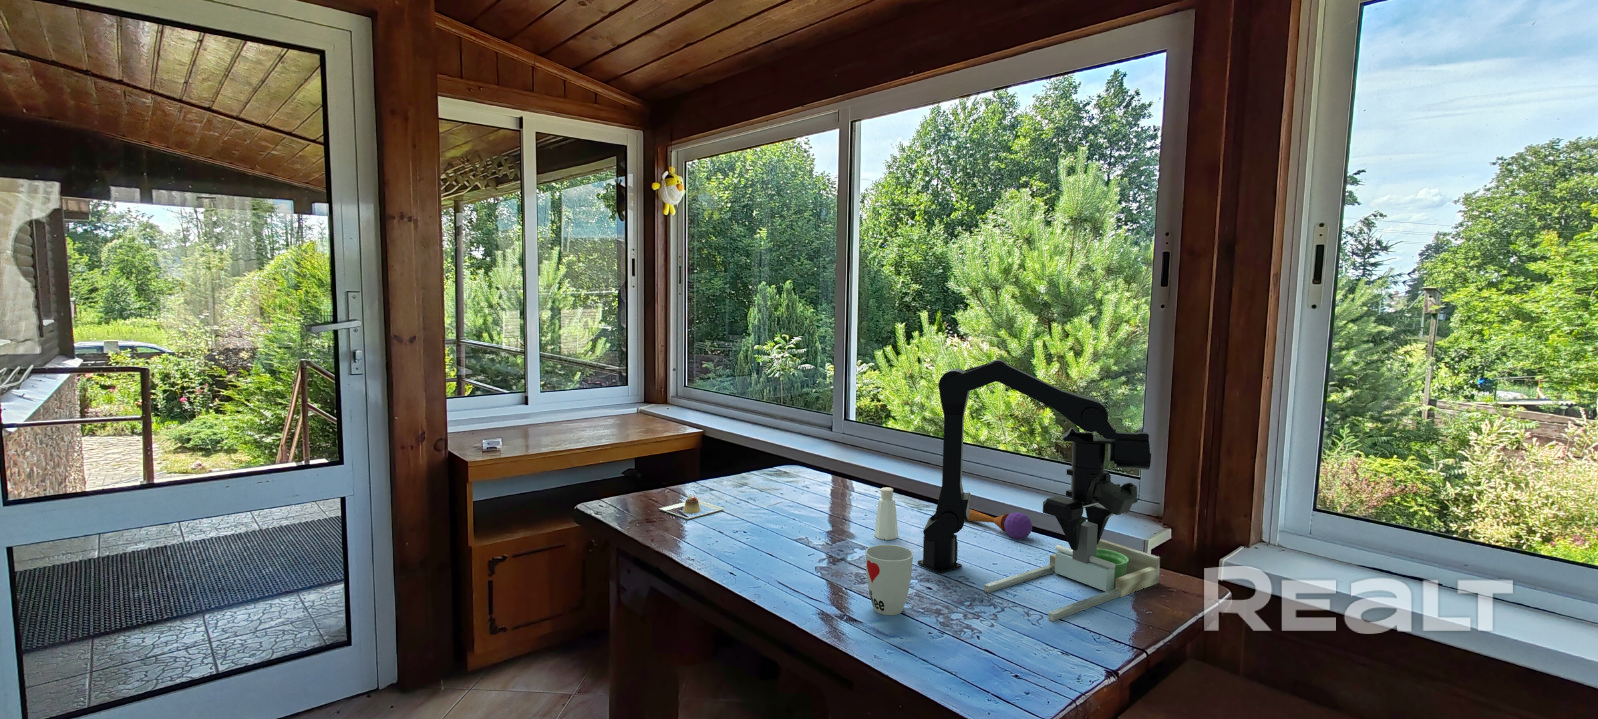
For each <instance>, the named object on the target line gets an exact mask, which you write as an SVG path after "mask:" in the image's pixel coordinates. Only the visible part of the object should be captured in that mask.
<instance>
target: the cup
mask: <svg viewBox="0 0 1598 719" xmlns="http://www.w3.org/2000/svg"><path fill="white" fill-rule="evenodd" d="M913 559H914V553H913V551H912V550H911V549H910V548H908V547H904V546H901V545H896V544H877V545H872V546H870V547H868V548H866V549H865V572H866V580H867V586H868V594H869V598H870V602H871V605H872V608H873V611H874V612H876V613H878V614H880V615H883V616H896V615H899V614H902V613H903V610H904V607H905V605H906V603H907V599H908V595H909V590H910V585H911V581H912V571H913V561H914V560H913Z"/></svg>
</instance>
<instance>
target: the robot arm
mask: <svg viewBox="0 0 1598 719" xmlns="http://www.w3.org/2000/svg"><path fill="white" fill-rule="evenodd" d="M996 382H997V383H1000V384H1003V385H1004V386H1007V388H1011V390H1012V389H1013V390H1014V391H1017V392H1019V393H1021V394H1023V395H1025V396H1027V397H1028V398H1031V399H1033V400H1036V401H1038V402H1040V403H1041V404H1044V405H1046V406H1048V407H1050V408H1052V409H1053V410H1055V411H1056V412H1058V413H1060V414H1061V415H1062V416H1063V417H1064V418H1066V419H1067V420H1068V421H1070V422H1071V423H1072V424H1074V425H1076V426H1077V427H1078V428H1080V429H1081V430H1082V431H1077V430H1076V429H1074V427H1073V426H1072V427H1070V428H1069V429H1068V431H1067V432H1065V433H1063V434H1062V436H1061V437H1062V440H1063V442H1068V443H1069V442H1072V448H1071V450H1072V452H1071V454H1072V455H1071V456H1072V457H1071V467H1070V468H1067V469H1066V476H1070V477H1071V478H1070V480H1071V481H1070V489H1067V490H1065V497H1064V496H1061V495H1057V496H1052V497H1047V498H1046V499H1045V500H1044V501H1042V513H1043V514H1046V515H1049V516H1052V517H1055V519H1056V520H1057V522H1058V524H1059V526H1060V528H1061V529H1062V532H1063V534H1064V536H1065V538H1066V540H1067V543H1068V544H1069V547H1070V549H1072V550H1075V551H1076V550H1077V549H1078V545H1079V538H1080V530H1081V525H1082V523H1084V522H1085V521H1088V522H1091V523H1095V524H1098V528H1097V544H1098V543H1099V541H1100V539H1102V535H1103V533H1104V530H1105V529H1106V526H1107V523H1108V521H1109V519H1110V518H1111V517H1112V516H1113V515H1116V516H1120V515H1121V514H1125V513H1126V514H1127V513H1129V512H1130V511H1131V508H1132V506H1133V504H1137V503H1138V502H1139V501H1138V486H1137V485H1136V484H1134V483H1133V482H1125V483H1124V484H1122V485H1121V484H1120V483H1116V484H1115V483H1114V482H1112V480H1111V476H1112V475H1111V474H1110V472H1109V471H1105V466H1106V465H1105V464H1106V445H1108V448H1107V451H1108V452H1107V457H1108V458H1107V459H1108V462H1109V463H1113V464H1114V468H1116V469H1117V468H1118V469H1129V470H1130V469H1131V470H1132V469H1134V470H1144V471H1146V470H1147V471H1148V470H1150V468H1151V465H1152V464H1151V462H1152V453H1151V446H1150V435H1149V433H1148V432H1147V431H1137V432H1133V431H1132V432H1129V431H1117V429H1116V427H1115V426H1114V425H1113V424H1110V422H1109V412H1108V410H1107V407H1105V405H1104V404H1103V403H1102V402H1101V401H1100V400H1099V399H1097V398H1095V397H1091V396H1087V395H1084V394H1081V393H1077V392H1072V391H1069V390H1065V389H1062V388H1059V387H1057V386H1055V385H1052V384H1051V383H1048V382H1046V381H1044V380H1042V379H1041V378H1038V377H1035V376H1034V375H1032V374H1029V373H1028V372H1026V371H1023V370H1022V369H1019V368H1017V367H1015V366H1013V365H1010V364H1008V363H1007V362H1005V361H1004V360H1003V359H994V360H991V361H990V362H987V363H984V364H981V365H977V366H974V367H971V368H967V369H965V370H964V369H962V368H957V367H956V368H951V369H950V370H948V371H946V372H945V373H944V374H943V375H942V376H941V377H940V379H939V381H938V391H939V399H940V404H941V408H942V412H943V417H944V418H943V419H944V420H943V441H942V442H943V448H942V476H941V488H940V492H939V496H938V499H937V500H938V501H937V505H936V509H935V513H934V514H933V515H931V516H930V517H929V518H928V519H927V522H926V524H925V526H924V529H923V530H922V532H923V533H922V534H923V542H922V543H923V544H922V559H920V560H918V561H917V565H920V566H922V567H924V568H926V569H929V570H930V571H933V572H935V573H938V574H942V573H946V572H950V571H954V570H956V569H961V568H963V564H961V563H960V562H958V549H959V548H958V547H959V546H958V544H959V543H958V540H957V539H958V534H957V533H958V532H960V531H962V529H963V528H964V525H965V522H967V521H968V518H969V514H970V509H971V508H970V505H969V503H970V498H971V492H965V491H964V487H963V460H964V459H963V457H964V456H963V453H964V451H963V450H964V428H965V427H964V425H965V413H966V411H967V410H966V408H967V405H968V400H969V397H970V392H971V391H973V390H976V389H978V388H982V387H984V386H987V385H990V384H993V383H996ZM1094 433H1097V434H1098V435H1100V436H1101V437H1096V436H1094ZM1068 497H1069V498H1068ZM1084 510H1085V513H1086V514H1085V515H1086V517H1085V516H1083V514H1084ZM968 522H969V521H968Z"/></svg>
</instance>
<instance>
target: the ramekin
mask: <svg viewBox="0 0 1598 719" xmlns="http://www.w3.org/2000/svg"><path fill="white" fill-rule="evenodd" d="M1096 557H1097V558H1100V559H1103V560H1106V561H1109V562H1112V563H1115V572H1114V586H1115V585H1116V578H1119V577H1122V576H1125V575H1127V574H1126V570H1127V565H1128V562H1129V559H1128V558H1127V557H1126V556H1125V555H1123V554H1121V553H1118V552H1115V551H1111V550H1106V549H1098V548H1097V553H1096Z"/></svg>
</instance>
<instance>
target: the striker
mask: <svg viewBox="0 0 1598 719" xmlns="http://www.w3.org/2000/svg"><path fill="white" fill-rule="evenodd" d="M1097 528H1098V524H1095V523H1091V522H1088V520H1086V521H1085V522H1084V523H1082V525H1081V530H1080V538H1079V545H1078V549H1077V550H1076V551H1075V550H1072V549H1071V547H1070V548H1069V547H1067V546H1064V545H1060V544H1056V545H1055V548H1054V549H1055V551H1056V552H1055V553H1054V554H1055V572H1054V573H1056V574H1058V575H1061V576H1063V577H1067V578H1069V579H1072V580H1074V581H1076V582H1080V583H1082V584H1086V585H1087V586H1090V587H1093V588H1095V589H1098V590H1101V591H1103V592H1106V591H1109V590H1112V589H1115V585H1114V572H1115V563H1112V562H1109V561H1106V560H1103V559H1100V558H1097V557H1096V553H1097Z"/></svg>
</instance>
